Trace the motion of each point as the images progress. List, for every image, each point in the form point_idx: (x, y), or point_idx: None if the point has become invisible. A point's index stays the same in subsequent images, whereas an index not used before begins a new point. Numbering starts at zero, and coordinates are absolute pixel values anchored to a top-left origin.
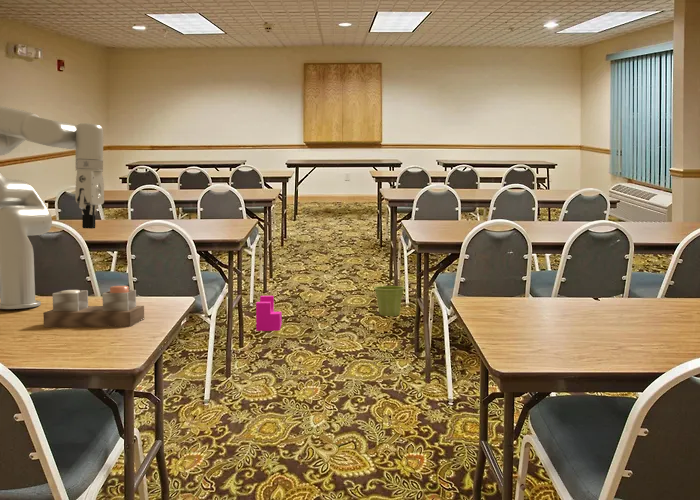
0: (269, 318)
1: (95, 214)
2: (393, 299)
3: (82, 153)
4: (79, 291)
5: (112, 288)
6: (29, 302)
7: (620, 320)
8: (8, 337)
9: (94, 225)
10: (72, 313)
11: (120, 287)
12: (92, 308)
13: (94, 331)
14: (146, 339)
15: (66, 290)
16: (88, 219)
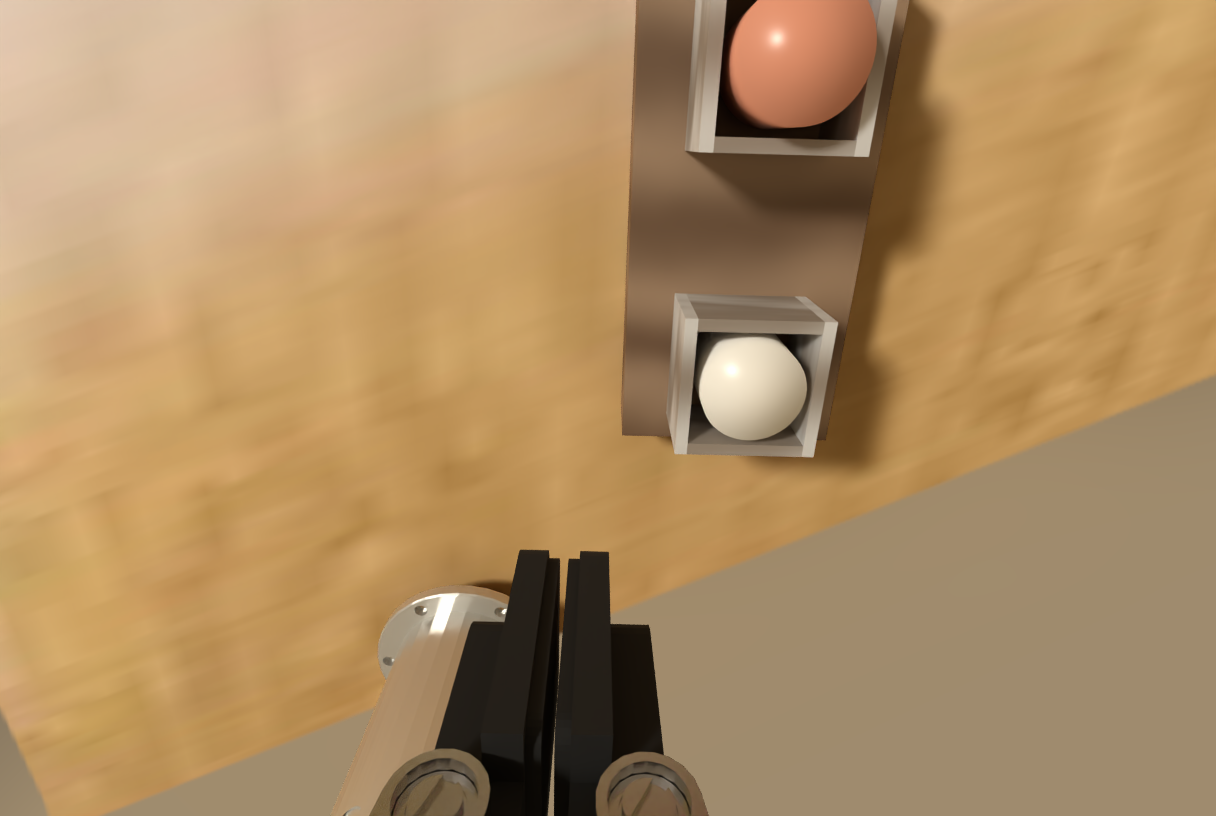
0: None
1: (427, 759)
2: None
3: None
4: (753, 342)
5: (860, 87)
6: (485, 619)
7: None
8: (1013, 446)
9: (547, 574)
10: (848, 305)
11: (860, 21)
12: (723, 252)
13: (980, 131)
14: None
15: (726, 423)
16: (652, 715)
